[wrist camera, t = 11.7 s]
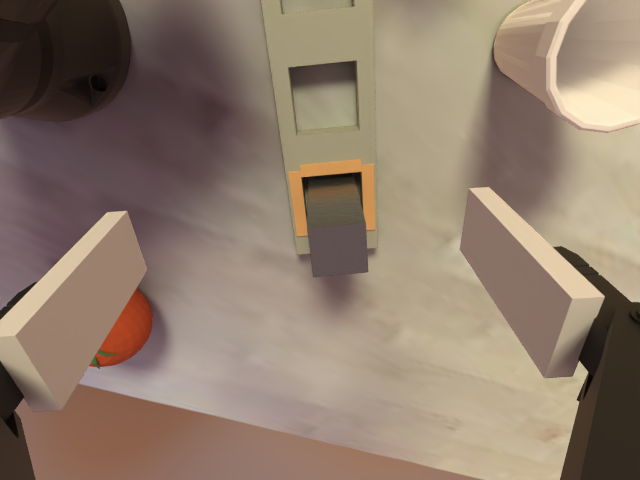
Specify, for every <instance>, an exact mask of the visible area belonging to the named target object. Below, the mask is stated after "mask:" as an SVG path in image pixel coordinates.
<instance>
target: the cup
mask: <svg viewBox="0 0 640 480" xmlns="http://www.w3.org/2000/svg"><path fill="white" fill-rule="evenodd" d="M494 60H495V62H496V64H497V66H498V67H499V69H500V71H501V72H502V73H504V74H505V75H506V76H508V77H509V78H511V79H512V80H513V81H515V82H516V83H517V84H519V85H520V86H522V87H523V88H524V89H526V90H527V91H529V92H530V93H531V94H533V95H534V96H536V97H537V98H538V99H540V100H541V101H542V102H544V103H545V105H546V107H547V108H548V109H549V110H551V111H552V112H553V113H555V114H556V115H558V116H559V117H561V118H562V119H563V120H565V121H566V122H568V123H569V124H571V125H573V126H574V127H576V128H577V129H579V130H587V131H595V132H604V133H608V132H612V131H615V130H619V129H623V128H627V127H630V126H634V125H638V124H639V123H640V0H531V1H529V2H527V3H525V4H522V5H520V6H519V7H518V8H517V9H515V10H514V11H513V12H512V13H510V14H509V15H508V16H507V17H506V19H505V20H504V22H503V23H502V25H501V26H500V28H499V29H498V32H497V35H496V39H495V42H494Z"/></svg>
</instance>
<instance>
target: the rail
mask: <svg viewBox="0 0 640 480" xmlns="http://www.w3.org/2000/svg"><path fill="white" fill-rule="evenodd" d="M261 4H262V11H263V18H264V25H265V32H266V39H267V46H268V53H269V60H270V67H271V74H272V81H273V88H274V95H275V102H276V109H277V116H278V123H279V130H280V137H281V144H282V151H283V159H284V166H285V173H286V180H287V187H288V194H289V201H290V208H291V215H292V222H293V229H294V236H295V243H296V250H297V255H299V254H310V248H309V241H308V233H307V210H306V201H305V193H304V185H303V177H309V176H320V175H331V174H341V173H352V172H360V191H361V206H362V210H363V214H364V217H365V221H366V234H367V249H368V248H378V212H377V165H376V118H375V71H374V23H373V0H352V7H345V8H336V9H326V10H317V11H308V12H298V13H289V14H283V10H282V2H281V0H261ZM346 61H355V77H356V100H357V123H358V125H357V126H346V127H336V128H326V129H315V130H305V131H297V126H296V118H295V110H294V101H293V93H292V85H291V76H290V68H289V67H297V66H307V65H316V64H326V63H336V62H346Z"/></svg>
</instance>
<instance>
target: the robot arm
mask: <svg viewBox="0 0 640 480" xmlns="http://www.w3.org/2000/svg"><path fill="white" fill-rule="evenodd" d="M129 62H130V37H129V31H128V25H127V22H126V18H125V15H124V12H123V9H122V6H121V4H120V2H119V0H0V119H2V118H5V117H8V116H15V117H21V118H28V119H35V120H41V121H67V120H72V119H77V118H80V117H83V116H85V115H88V114H90V113H93V112H95V111H97V110H99V109H101V108H102V107H104V106H105V105H107V104H108V103H109V102H110V101H111V100H112V99H113V98H114V97H115V96H116V94H117V93H118V92H119V90H120V89H121V87H122V85H123V83H124V81H125V78H126V75H127V72H128V68H129ZM460 250H461V252H462V253H463V255H464V256H465V258H466V259H467V261H468V263H469V264H470V266H471V267H472V269H473V270H474V272H475V273H476V275H477V276H478V278H479V279H480V281H481V282H482V284H483V285H484V287H485V288H486V290H487V291H488V293H489V295H490V296H491V298H492V299H493V301H494V302H495V304H496V305H497V307H498V308H499V310H500V311H501V313H502V314H503V316H504V317H505V319H506V320H507V322H508V324H509V325H510V327H511V328H512V330H513V331H514V333H515V334H516V336H517V337H518V339H519V340H520V342H521V343H522V345H523V346H524V348H525V349H526V351H527V353H528V354H529V356H530V357H531V359H532V360H533V362H534V363H535V365H536V366H537V368H538V369H539V371H540V372H541V374H542V375H543V377H544V378H557V377H572V376H573V374H574V372H575V369H576V367H577V364H578V362H579V361H580V362H581V363H582V364H583V366H584V367H585V368H586V369H587V371H588V375H587V377H586V379H585V382H584V384H583V386H582V389H581V391H580V393H579V396H578V398H577V400H578V401H580V402H579V406H578V410H577V414H576V418H575V422H574V426H573V430H572V434H571V438H570V442H569V446H568V450H567V454H566V458H565V462H564V466H563V470H562V474H561V478H560V480H640V303H639V302H631V301H629V300H628V299H627V298H626V297H625V296H624V295H623V294H622V293H620V292H619V291H618V290H617V289H616V288H615V287H614V286H613V285H611V284H610V283H609V282H608V281H607V280H606V279H605V278H604V277H602V276H601V275H599V274H598V272H597V271H596V270H594V269H593V268H592V267H589V264H588V263H587V262H585V261H584V260H583V259H582V258H581V257H580V256H579V255H577V254H575V253H573V252H571V251H569V250H567V249H566V248H564V247H562V246H560V247H552V246H551V245H550V244H549V243H548V242H547V241H546V240H544V239H543V238H542V237H541V236H540V235H539V234H538V233H537V232H536V231H535V230H534V229H533V228H532V227H531V226H530V225H529V224H528V223H526V222H525V221H524V220H523V219H522V218H521V217H520V216H519V215H518V214H517V213H516V212H515V211H514V210H513V209H512V208H511V207H510V206H509V205H507V204H506V203H505V202H504V201H503V200H502V199H501V198H500V197H499V196H498V195H497V194H496V193H495V192H494V191H493V190H492V189H491V188H489V187H481V188H469V191H468V198H467V205H466V211H465V218H464V225H463V231H462V238H461V245H460ZM147 270H148V269H147V267H146V264H145V261H144V258H143V255H142V252H141V249H140V246H139V243H138V241H137V238H136V235H135V232H134V229H133V226H132V223H131V220H130V217H129V215H128V212H127V211H118V212H107V213H106V214H105V215H104V216H103V217H102V218H101V219H100V220H99V221H98V222H97V223H96V224H95V225H94V226H93V227H92V228H91V229H90V230H89V231H88V232H87V233H86V234H85V235H84V236H83V237H82V238H81V239H80V240H79V241H78V242H77V243H76V244H75V245H74V246H73V247H72V248H71V249H70V250H69V251H68V252H67V253H66V254H65V255H64V256H63V257H62V258H61V259H60V260H59V261H58V262H57V263H56V264H55V265H54V266H53V267H52V268H51V269H50V270H49V271H48V272H47V273H46V274H45V275H44V276H43V277H42V278H41V279H40V280H39V281H38V282H35V283H33V284H32V285H30V286H29V287H27V288H25V289H24V290H22V291H21V292H19V293H18V294H17V295H16V296H15V297H14V298H13V299H12V300H11V301H10V302H9V303H8V304H7V307H4V308H3V309H2V310H0V480H35V476H34V472H33V468H32V464H31V460H30V455H29V451H28V447H27V443H26V439H25V435H24V431H23V427H22V423H21V419H20V417H19V416H18V415H17V413H16V412H15V409H16V407H17V406H18V405H19V403H20V402H21V401H22V399H23V398H24V399H25V400H26V402H27V403H28V405H29V406H30V408H31V409H32V410H33V412H42V411H57V410H62V409H63V407H64V406H65V404H66V402H67V401H68V399H69V397H70V396H71V394H72V392H73V391H74V389H75V388H76V386H77V384H78V383H79V381H80V379H81V378H82V376H83V375H84V373H85V371H86V370H87V368H88V366H89V365H90V363H91V361H92V360H93V358H94V357H95V355H96V353H97V352H98V350H99V348H100V347H101V345H102V344H103V342H104V340H105V339H106V337H107V335H108V334H109V332H110V330H111V329H112V327H113V326H114V324H115V322H116V321H117V319H118V317H119V316H120V314H121V313H122V311H123V309H124V308H125V306H126V304H127V303H128V301H129V299H130V298H131V296H132V295H133V293H134V291H135V290H136V288H137V286H138V285H139V283H140V282H141V280H142V278H143V277H144V275H145V273H146V272H147Z"/></svg>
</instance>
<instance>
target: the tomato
mask: <svg viewBox="0 0 640 480" xmlns="http://www.w3.org/2000/svg"><path fill="white" fill-rule="evenodd" d="M151 329H152V311H151V308H150V305H149V303H148V301H147V299H146V298H145V296H144V295H143V294H142V293H141V292H140V291H139V290H138V289H136V290H135V291H134V293H133V295H132V296H131V298H130V299H129V301H128V303H127V304H126V306H125V308H124V309H123V311H122V313H121V314H120V316H119V317H118V319H117V321H116V322H115V324H114V326H113V327H112V329H111V330H110V332H109V334H108V335H107V337H106V339H105V340H104V342H103V344H102V345H101V347H100V348H99V350H98V352H97V353H96V355H95V357H94V358H93V360H92V361H91V363H90V365H89V366H93V367H98V368H99V369H100V367H104V366H112V365H116V364H119V363H121V362H123V361H125V360H127V359H129V358H131V357H132V356H133V355H135V354H136V353H137V352H138V351H139V350H140V349H141V348H142V347H143V345H144V344H145V343H146V341H147V340H148V338H149V335H150V332H151Z"/></svg>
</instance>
